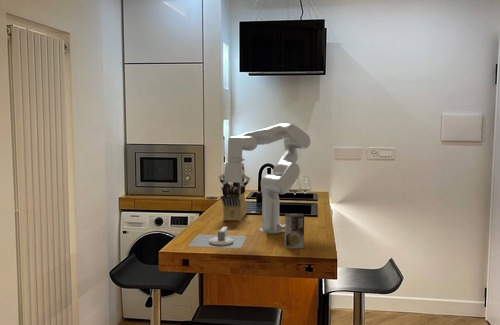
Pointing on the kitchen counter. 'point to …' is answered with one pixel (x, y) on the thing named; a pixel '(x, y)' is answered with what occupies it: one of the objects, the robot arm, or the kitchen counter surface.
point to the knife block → (233, 202)
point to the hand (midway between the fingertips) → (233, 193)
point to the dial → (221, 238)
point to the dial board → (204, 242)
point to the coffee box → (294, 230)
